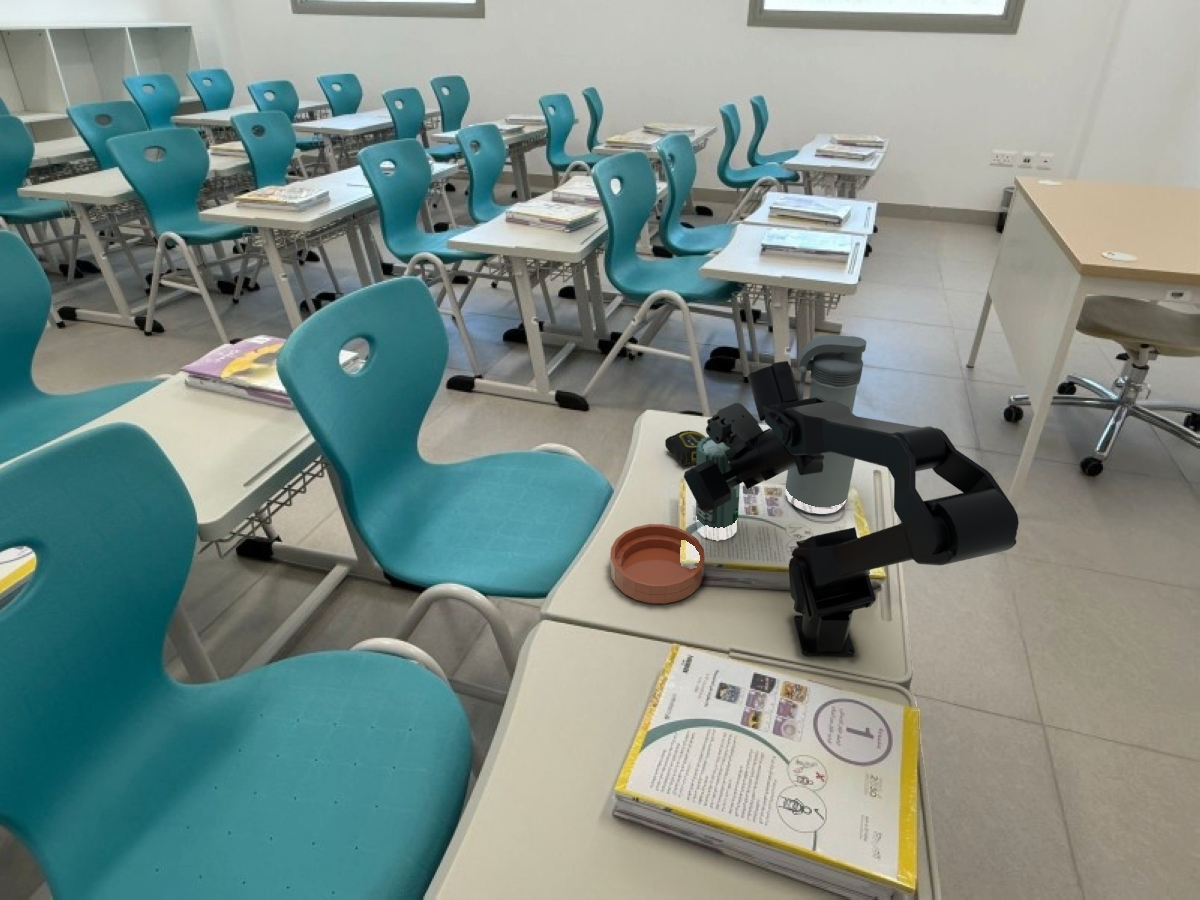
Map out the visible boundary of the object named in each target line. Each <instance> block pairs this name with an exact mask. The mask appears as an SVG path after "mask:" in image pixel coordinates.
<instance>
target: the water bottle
mask: <svg viewBox="0 0 1200 900" xmlns="http://www.w3.org/2000/svg"><path fill="white" fill-rule="evenodd" d="M867 343H868V342H867V340H865V338H862V337H860V336H854V335H853V336H852V335H838V334H823V335H819V336H817V337H814V338H812V339H811V340H809V341H808V342H807V343H806V344H805V345H804V346H803V348H802V350H801V352H800V356H799V364H798V372H799V373H800V379H799V385H798V391H799V395H800V398H801V400H802V399H804V393H805V392H804V391H805V382H806V377H807V372H810V379H811V381H810V388H809V394H808V398H814V397H820V398H822V399H824V400H826V401H836V402H839V403H841V404H843V405H845V406H848V407H849V408H851V410H852V414H853V415H855V414H854V413H853V412H854V406H855V401H856V396H857V391H858V385H859V384H860V383H861V378H862V373H863V367H864V361H863V353H864V352H865V351H866V347H867ZM821 454H822V455H824V460H823V464H824V467H823V472H822V473H816V474H809V475H800V474H799V473H798V469H797V466H795V467H793V468H791V469H789V470H787V474H786V480H785V487H786V489H787V491H788V492H789V494H790V495H791V496H793V498H795V499H797V500H798V501H801V502H803V503H805V504H808V505H811V506H815V507H817V506H818V507H831V506H835V505H839V504H841V503H843V502H844V501H845V500H846V499H847V500H848V497H849V493H850V492H849V491H850V487H851V481H852V477H853V473H854V466H855V460H856V459H854V458H850V457H847V456H843V455H839V454H836V453H832V452H829V453H821Z"/></svg>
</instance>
